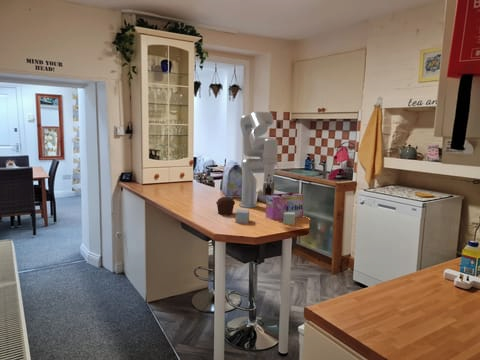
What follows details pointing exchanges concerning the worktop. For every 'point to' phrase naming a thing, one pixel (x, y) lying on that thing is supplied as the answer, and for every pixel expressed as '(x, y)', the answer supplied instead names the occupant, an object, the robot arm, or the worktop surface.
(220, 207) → the muffin
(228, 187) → the lunch bag
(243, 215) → the base block
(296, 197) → the gum box
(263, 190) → the walnut block
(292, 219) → the sage block
